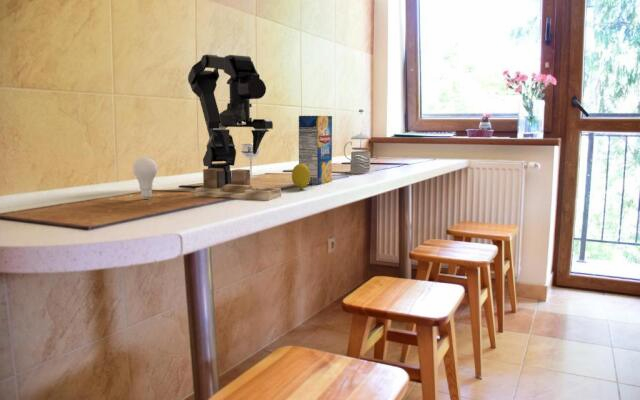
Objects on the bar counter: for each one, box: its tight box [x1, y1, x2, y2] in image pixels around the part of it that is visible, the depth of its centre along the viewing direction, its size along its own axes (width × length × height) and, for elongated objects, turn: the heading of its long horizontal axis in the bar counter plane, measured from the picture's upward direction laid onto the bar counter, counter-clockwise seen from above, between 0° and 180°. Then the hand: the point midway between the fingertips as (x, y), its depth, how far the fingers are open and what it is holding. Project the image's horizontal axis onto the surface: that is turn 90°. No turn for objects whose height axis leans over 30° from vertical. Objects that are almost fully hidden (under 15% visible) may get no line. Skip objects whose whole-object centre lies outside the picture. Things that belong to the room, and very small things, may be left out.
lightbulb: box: [132, 156, 158, 200], centre depth 143 cm, size 6×6×11 cm
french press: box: [343, 108, 373, 175], centre depth 218 cm, size 10×12×25 cm
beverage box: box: [298, 115, 333, 186], centre depth 181 cm, size 7×11×22 cm, turn 154°
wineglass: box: [240, 143, 261, 179], centre depth 198 cm, size 7×7×12 cm
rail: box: [194, 168, 282, 201], centre depth 148 cm, size 22×8×7 cm, turn 70°
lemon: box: [291, 162, 310, 190], centre depth 164 cm, size 6×6×8 cm
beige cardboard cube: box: [231, 168, 251, 185], centre depth 163 cm, size 5×4×6 cm
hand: (240, 153), depth 161 cm, fingers open, 9 cm apart
